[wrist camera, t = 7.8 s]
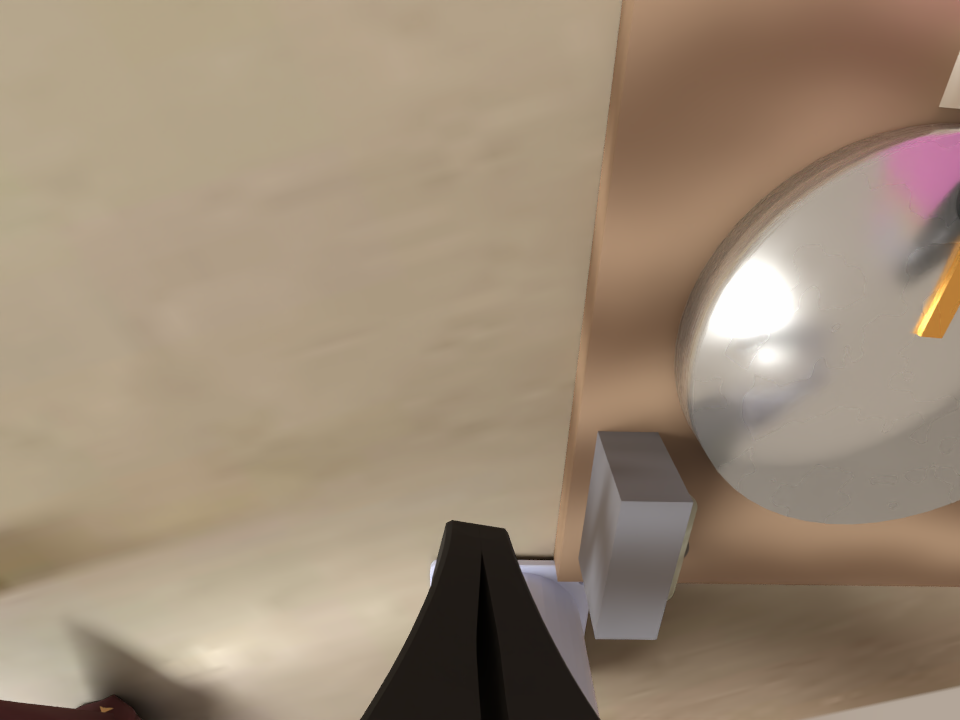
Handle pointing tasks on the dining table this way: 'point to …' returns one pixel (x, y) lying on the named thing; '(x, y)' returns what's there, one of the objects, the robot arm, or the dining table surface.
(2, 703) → the icecream
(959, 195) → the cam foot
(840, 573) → the stand
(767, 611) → the dining table surface
